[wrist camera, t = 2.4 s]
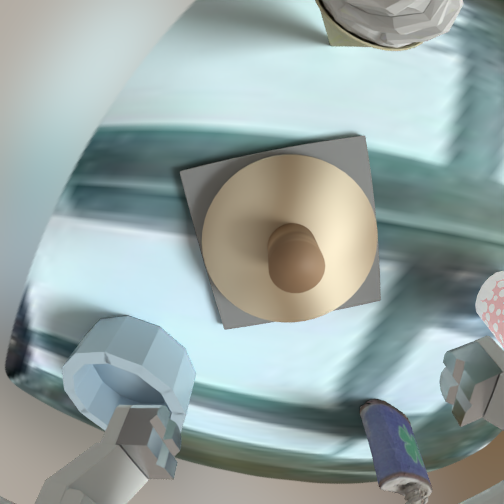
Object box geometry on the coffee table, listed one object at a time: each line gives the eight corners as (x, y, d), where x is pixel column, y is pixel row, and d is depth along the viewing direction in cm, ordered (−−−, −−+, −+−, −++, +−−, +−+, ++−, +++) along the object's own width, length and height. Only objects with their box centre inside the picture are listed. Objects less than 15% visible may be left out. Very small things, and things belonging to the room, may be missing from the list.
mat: (361, 135, 17) (365, 135, 17) (378, 296, 21) (380, 300, 21) (182, 170, 18) (179, 171, 18) (225, 324, 22) (224, 329, 22)
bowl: (170, 309, 22) (152, 347, 18) (209, 402, 25) (201, 442, 21) (68, 322, 23) (42, 354, 19) (115, 404, 26) (100, 438, 22)
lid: (360, 140, 17) (385, 144, 13) (376, 297, 21) (396, 330, 17) (185, 175, 18) (165, 188, 14) (228, 325, 22) (222, 363, 18)
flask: (353, 408, 26) (378, 507, 16) (380, 391, 25) (414, 489, 15) (394, 439, 28) (419, 517, 18) (417, 425, 27) (447, 503, 17)
